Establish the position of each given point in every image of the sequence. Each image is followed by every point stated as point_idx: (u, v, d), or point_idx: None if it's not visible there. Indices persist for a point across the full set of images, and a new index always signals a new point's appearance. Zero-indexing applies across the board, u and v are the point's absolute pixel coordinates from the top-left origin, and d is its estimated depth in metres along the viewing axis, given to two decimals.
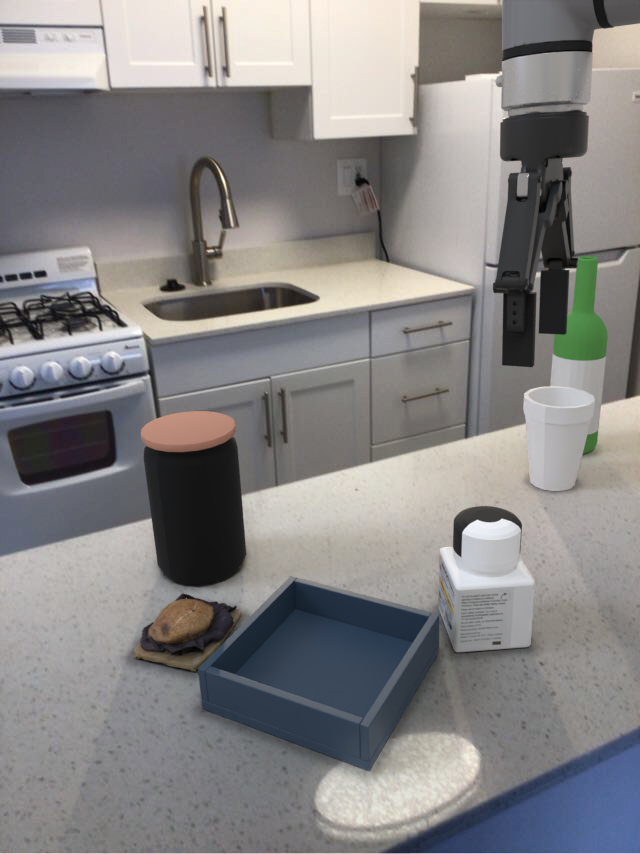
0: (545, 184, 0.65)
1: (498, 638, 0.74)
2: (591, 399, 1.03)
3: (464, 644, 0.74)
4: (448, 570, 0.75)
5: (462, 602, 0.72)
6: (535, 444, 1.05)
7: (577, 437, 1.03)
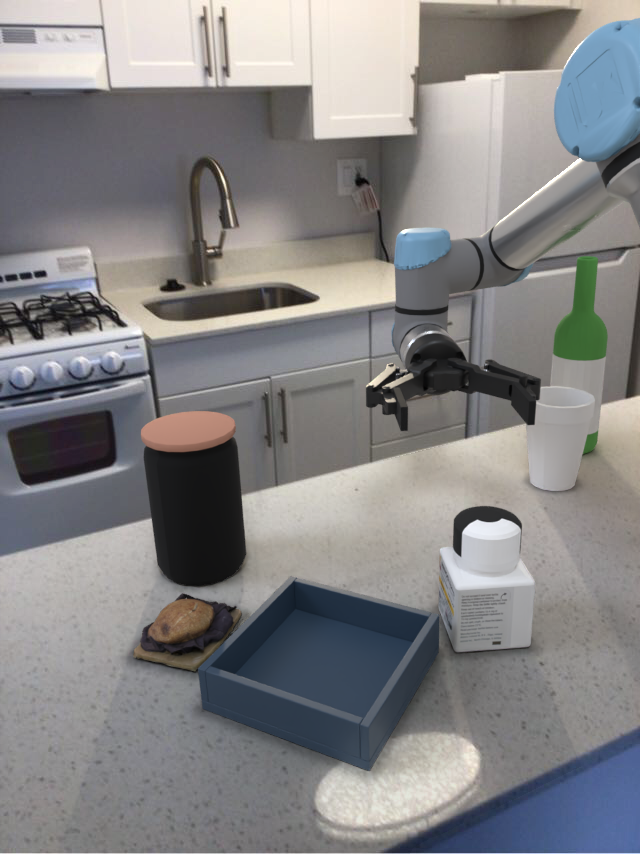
0: (414, 366, 0.94)
1: (498, 638, 0.74)
2: (591, 399, 1.03)
3: (464, 644, 0.74)
4: (448, 570, 0.75)
5: (462, 602, 0.72)
6: (535, 444, 1.05)
7: (577, 437, 1.03)
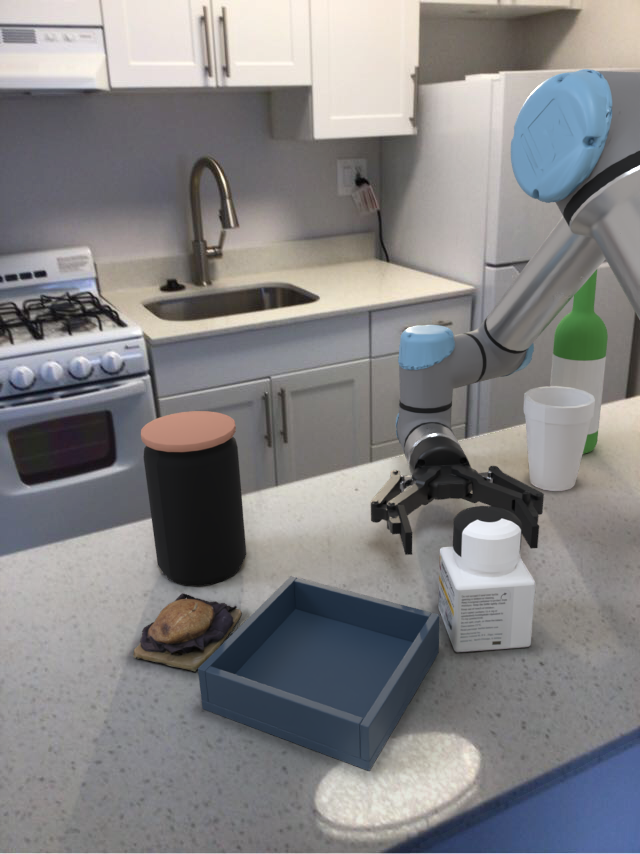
0: (419, 473, 0.95)
1: (498, 638, 0.74)
2: (591, 399, 1.03)
3: (464, 644, 0.74)
4: (448, 570, 0.75)
5: (462, 602, 0.72)
6: (535, 444, 1.05)
7: (577, 437, 1.03)
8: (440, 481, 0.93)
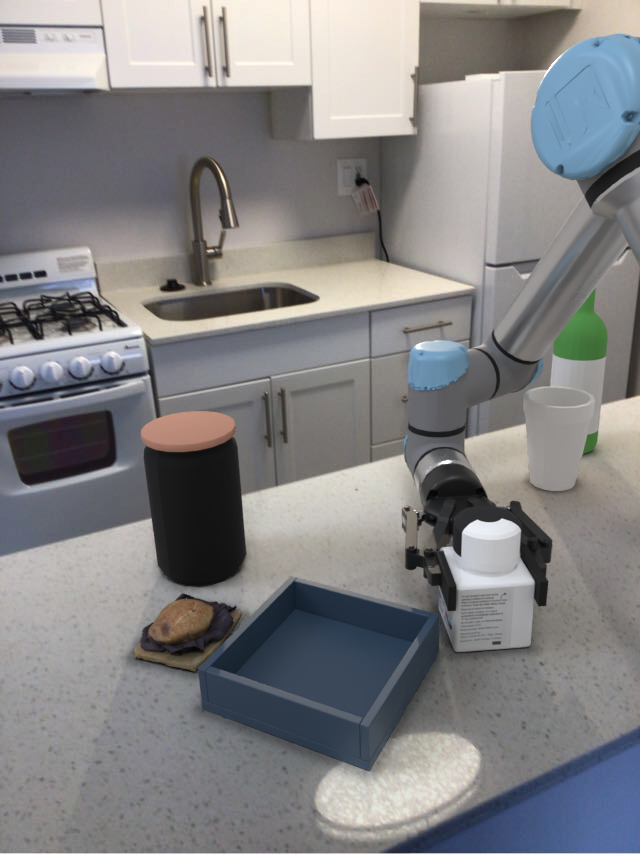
0: (431, 506, 0.86)
1: (498, 638, 0.74)
2: (591, 399, 1.03)
3: (464, 644, 0.74)
4: None
5: (462, 602, 0.72)
6: (535, 444, 1.05)
7: (577, 437, 1.03)
8: (455, 515, 0.84)
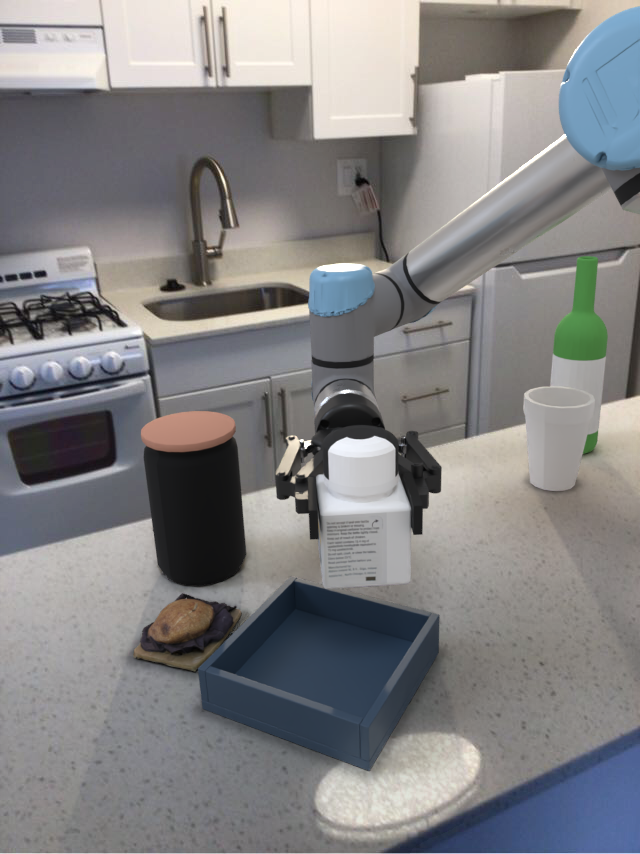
0: (319, 436, 0.78)
1: (372, 573, 0.65)
2: (591, 399, 1.03)
3: (333, 580, 0.65)
4: (318, 496, 0.66)
5: (328, 530, 0.63)
6: (535, 444, 1.05)
7: (577, 437, 1.03)
8: None
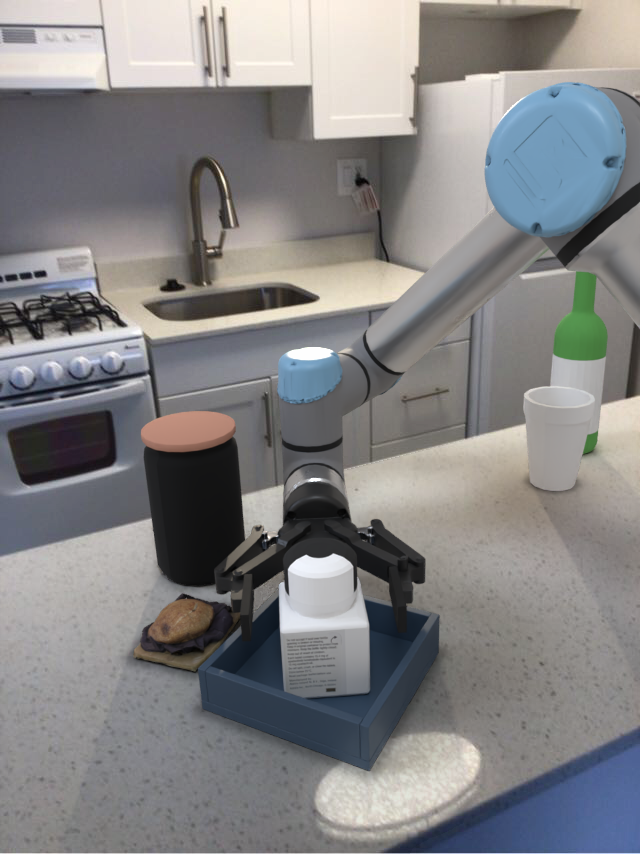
0: (286, 529, 0.79)
1: (332, 685, 0.67)
2: (591, 399, 1.03)
3: (294, 692, 0.67)
4: (279, 609, 0.68)
5: (288, 646, 0.65)
6: (535, 444, 1.05)
7: (577, 437, 1.03)
8: None
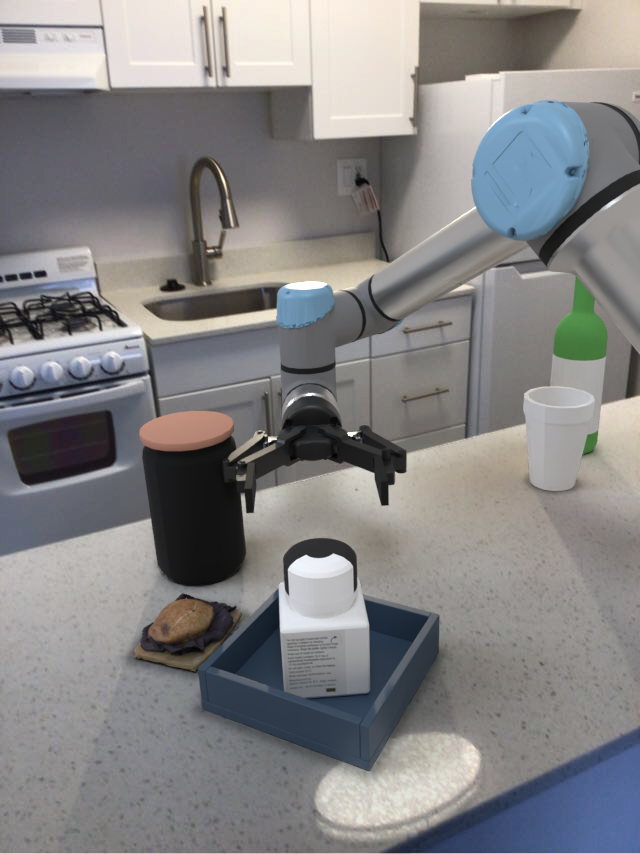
0: (284, 433, 0.89)
1: (332, 685, 0.67)
2: (591, 399, 1.03)
3: (294, 692, 0.67)
4: (279, 609, 0.68)
5: (288, 646, 0.65)
6: (535, 444, 1.05)
7: (577, 437, 1.03)
8: (303, 440, 0.87)
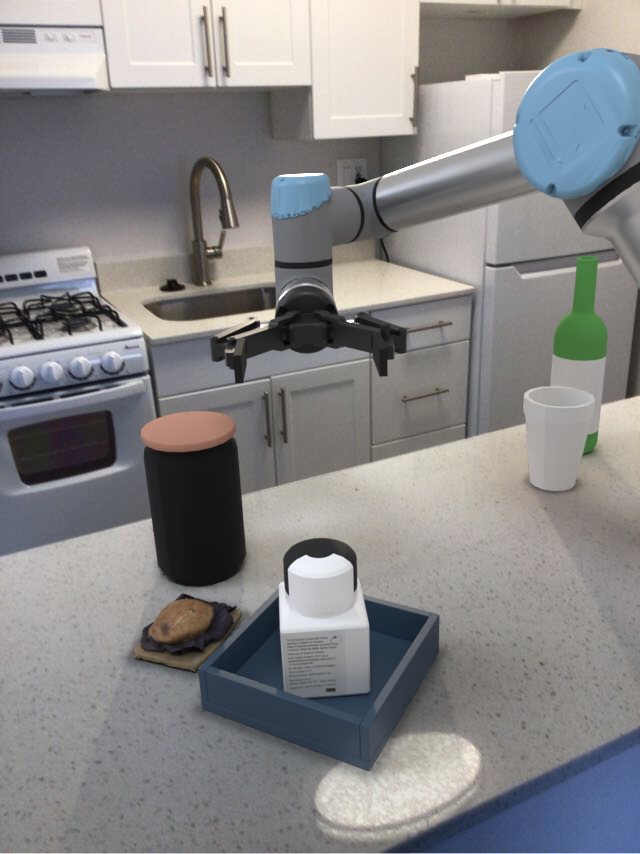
0: None
1: (332, 685, 0.67)
2: (591, 399, 1.03)
3: (294, 692, 0.67)
4: (279, 609, 0.68)
5: (288, 646, 0.65)
6: (535, 444, 1.05)
7: (577, 437, 1.03)
8: (297, 323, 0.82)
